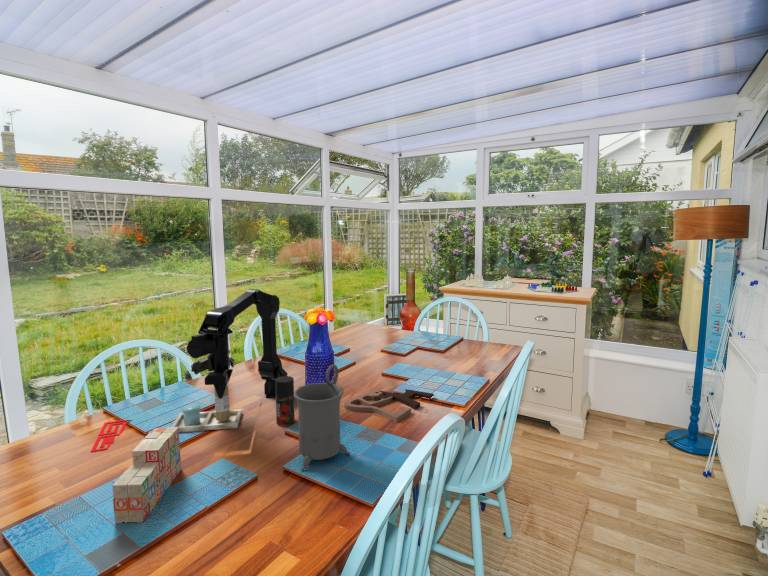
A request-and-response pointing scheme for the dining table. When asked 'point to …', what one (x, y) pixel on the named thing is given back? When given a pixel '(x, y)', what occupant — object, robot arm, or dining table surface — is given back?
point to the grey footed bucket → (319, 419)
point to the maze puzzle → (108, 440)
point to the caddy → (209, 421)
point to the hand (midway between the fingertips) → (221, 395)
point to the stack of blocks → (147, 475)
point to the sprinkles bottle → (222, 406)
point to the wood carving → (383, 399)
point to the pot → (191, 414)
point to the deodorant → (284, 400)
